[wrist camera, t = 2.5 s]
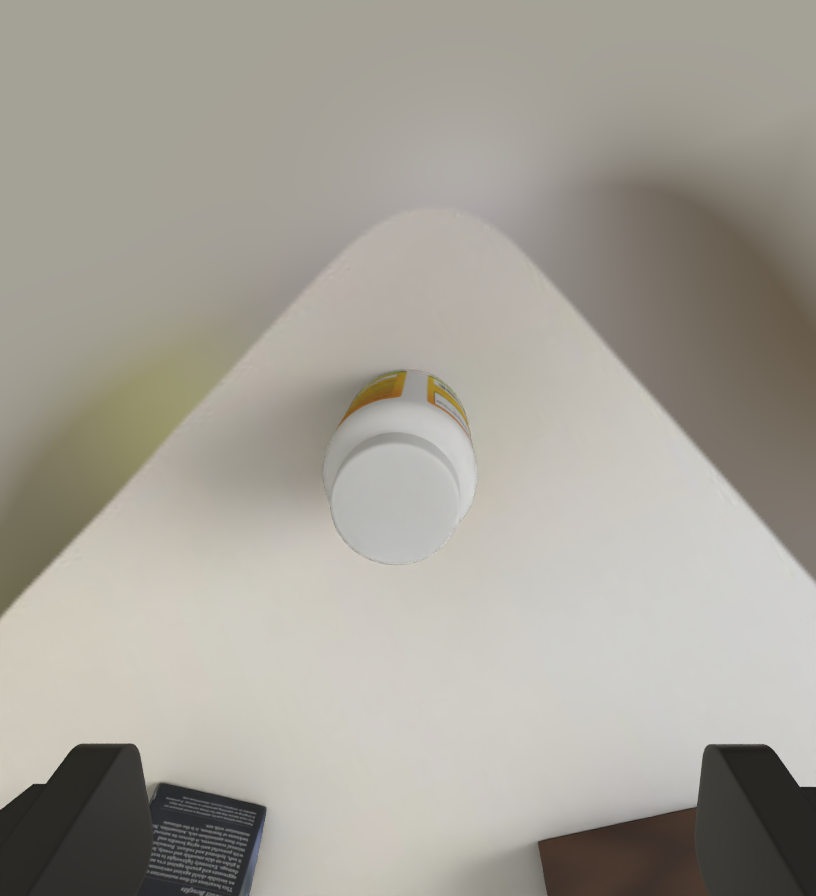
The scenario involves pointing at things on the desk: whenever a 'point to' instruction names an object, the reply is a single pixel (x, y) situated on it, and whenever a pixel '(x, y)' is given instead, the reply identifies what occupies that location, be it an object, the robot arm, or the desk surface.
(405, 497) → the supplement bottle
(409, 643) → the desk surface
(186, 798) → the small box
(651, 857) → the walnut block
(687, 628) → the desk surface
